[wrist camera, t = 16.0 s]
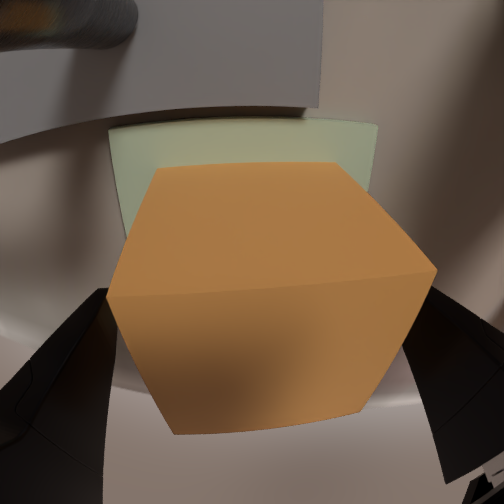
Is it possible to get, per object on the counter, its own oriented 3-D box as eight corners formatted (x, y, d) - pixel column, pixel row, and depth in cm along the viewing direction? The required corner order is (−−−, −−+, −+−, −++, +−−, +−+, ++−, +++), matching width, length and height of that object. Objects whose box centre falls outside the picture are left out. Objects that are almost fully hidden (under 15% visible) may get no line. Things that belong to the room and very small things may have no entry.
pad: (373, 123, 10) (378, 126, 9) (335, 307, 15) (337, 313, 15) (111, 127, 9) (108, 130, 8) (152, 320, 14) (151, 326, 14)
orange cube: (335, 162, 10) (437, 270, 5) (315, 292, 13) (360, 412, 9) (157, 168, 9) (106, 296, 5) (179, 302, 13) (174, 434, 8)
